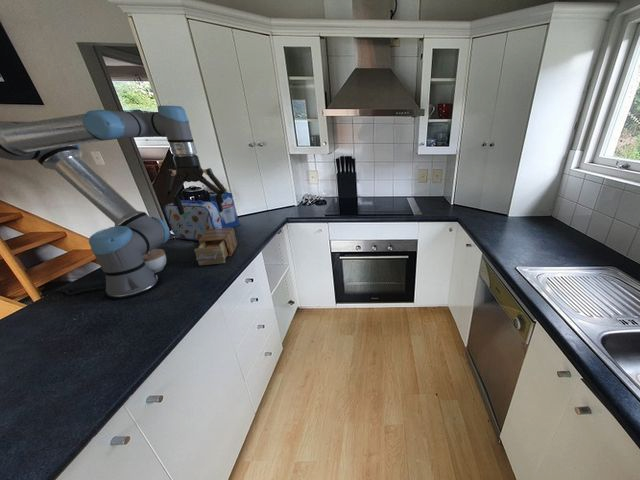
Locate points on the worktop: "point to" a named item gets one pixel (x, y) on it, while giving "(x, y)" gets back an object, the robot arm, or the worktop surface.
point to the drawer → (211, 252)
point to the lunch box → (193, 218)
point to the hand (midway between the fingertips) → (202, 212)
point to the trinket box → (155, 260)
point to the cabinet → (221, 237)
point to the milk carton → (227, 210)
